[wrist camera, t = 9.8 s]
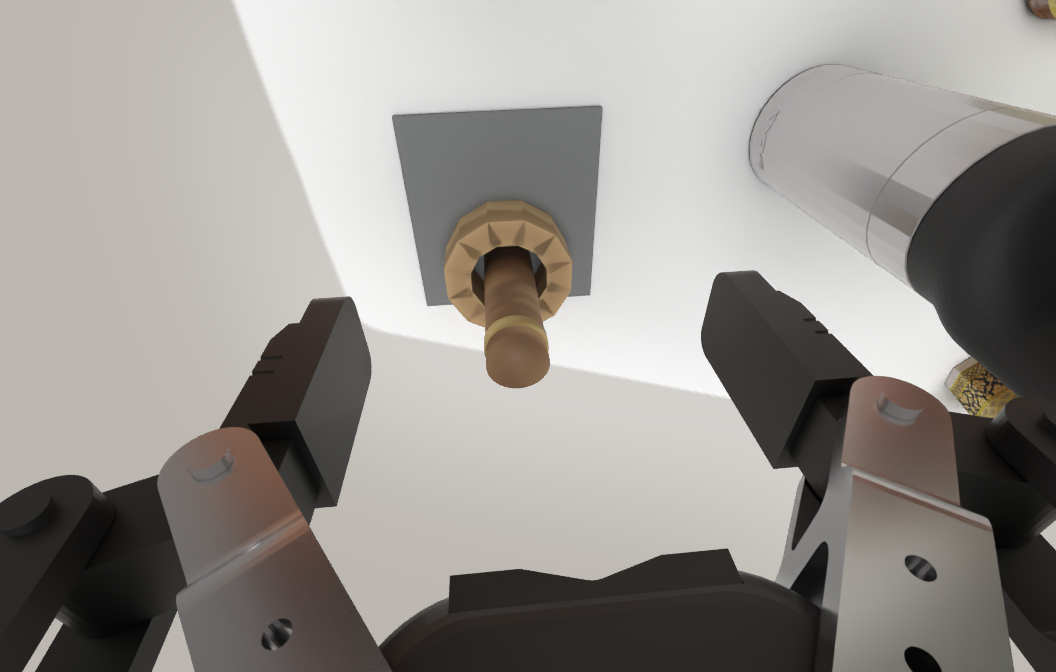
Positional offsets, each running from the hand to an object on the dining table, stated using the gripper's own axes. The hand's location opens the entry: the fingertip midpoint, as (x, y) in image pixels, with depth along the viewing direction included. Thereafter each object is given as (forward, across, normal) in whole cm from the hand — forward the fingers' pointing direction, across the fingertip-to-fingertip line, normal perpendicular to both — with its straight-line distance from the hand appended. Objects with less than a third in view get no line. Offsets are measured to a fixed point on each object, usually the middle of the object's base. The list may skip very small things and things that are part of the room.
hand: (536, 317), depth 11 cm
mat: (+28, 0, +10) cm, 30 cm away
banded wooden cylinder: (+28, 0, +13) cm, 31 cm away
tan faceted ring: (+28, 0, +13) cm, 31 cm away
